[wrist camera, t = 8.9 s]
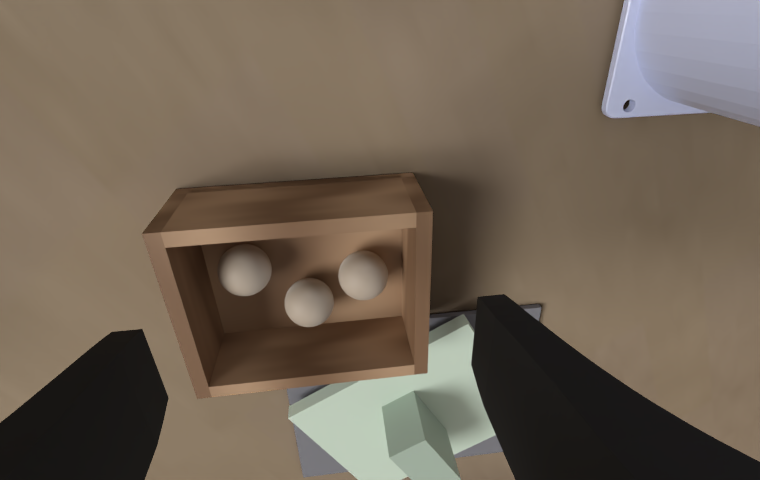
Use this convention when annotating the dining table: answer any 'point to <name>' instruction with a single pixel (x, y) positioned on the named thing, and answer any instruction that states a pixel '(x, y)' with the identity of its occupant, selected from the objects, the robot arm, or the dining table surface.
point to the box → (296, 281)
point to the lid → (403, 415)
